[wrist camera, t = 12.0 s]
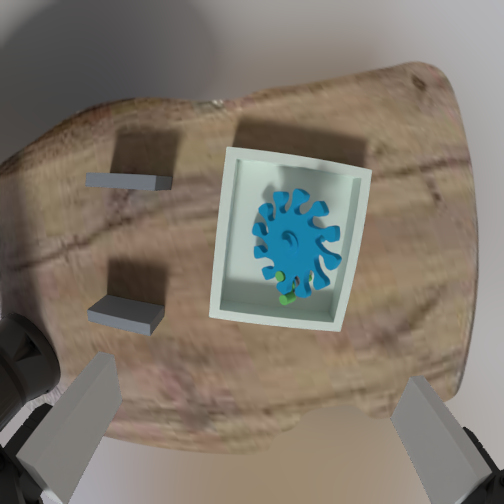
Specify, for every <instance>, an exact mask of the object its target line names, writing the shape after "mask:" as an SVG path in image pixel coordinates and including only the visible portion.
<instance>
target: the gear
mask: <svg viewBox="0 0 504 504" xmlns="http://www.w3.org/2000/svg"><path fill="white" fill-rule="evenodd" d="M309 198H310V194H309V193H308V192H307V191H305V190H303V189H294V191H293V194H292V203H291V206H290V208H289V209H288V211H287V212H286V210H285V205H286V203H287V202H288V200H289V192H286V191H277V192H274V193H273V199H274V202H275V205H276V215H275V219H274V218H273V212H274V207H273V204H272V203H264V204H262V205H261V206H260V207H259V208H258V211H259V213H260V215H262V216H263V218H264V219H265V221H266V223H267V227H268V233H267V230H266V226H265V224H264V223H262V222H258V223H255V224H254V226H253V228H252V234H253V235H255V236H258V237H260V238H262V239H263V240H264V241H265V243H266V244H267V246H268V250H267V249H266V247H265V246H264V245H259V246H254V257H255V258H256V259H259V258H264V257H267V258H269V259H271V260H272V261H273V262H274V267H273V266H267V267H263V268H262V273H263V276H264V278H265V280H269V279H272V278H274V277H275V278H276V280H277V281H279V282H278V283H277V285H276V288H277V289H278V291H279V292H280V293H282V294H283V295H281V296H280V297H279V301H280V303H281V304H282V305H287V304H289V303H291V302H294V301H295V300H296V296H298V297H300V298H307V297H309V296H311V293H312V291H311V288H310V284H309V282H310V281H311V280H312V276H311V275H309V274H310V270H312V271H313V273H314V279H313V286H314V288H315V290H320V289H322V288H324V287H326V286H328V285H330V279H329V278H328V276H326V275H325V273H324V272H323V270H322V268H321V266H320V261H319V255H321V256H322V257H323V260H324V264H325V267H326V268H327V269H328V270H330V271H331V270H334V269H336V268H337V267H338V266H339V264H340V263H341V260H342V258H341V256H340V255H339V254H337V253H333V252H330V251H329V250H327V249H326V248H325V247H324V246H323V244H322V242H325V240H327V241H328V242H336V241H339V240H340V227H339V226H337V225H334V226H328V227H327V228H320V227H317V226H315V225H314V224H313V217H314V216H317V217H322V216H327V215H328V214H329V209H328V206H327V205H326V203H325V201H316V202H314V203H313V205H312V207H311V208H310V210H309V211H308V212H306V213H305V214H301V213H300V209H299V208H300V205H301V204H303V203H306V202H307V201H308V200H309ZM294 292H295V294H294Z"/></svg>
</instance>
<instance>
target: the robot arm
mask: <svg viewBox="0 0 504 504" xmlns="http://www.w3.org/2000/svg"><path fill="white" fill-rule="evenodd" d="M59 380H60V369H59V365H58V361H57V359H56V356H55V354H54V352H53V350H52V348H51V346H50V345H49V343H48V342H47V340H46V339H45V337H44V336H43V335H42V333H41V332H40V331H39V330H38V329H37V327H36V326H35V325H34V324H32V323H31V322H30V321H29V320H28V319H26V318H25V317H23V316H21V315H18V314H9V315H8V316H6V317H4V318H3V319H1V320H0V432H1V431H2V430H3V429H4V427H5V426H6V425H7V424H8V423H9V422H10V420H11V419H12V418H13V417H14V416H15V415H16V414H17V413H18V411H19V410H20V409H21V408H22V407H23V406H24V405H25V404H26V403H27V402H28V401H30V400H33V399H35V398H37V397H39V396H41V395H43V394H47V393H49V392H50V391H52V390H53V389H54V387H55V386H56V385H57V384H58V383H59ZM121 403H122V396H121V391H120V386H119V381H118V376H117V370H116V364H115V358H114V355H112V354H108V353H104V352H100V351H99V352H98V353H97V354H96V355H95V357H94V358H93V359H92V360H91V361H90V362H89V364H88V365H87V366H86V367H85V368H84V369H83V371H82V372H81V373H80V374H79V375H78V377H77V378H76V379H75V380H74V381H73V383H72V384H71V385H70V386H69V388H68V389H67V390H66V391H65V392H64V394H63V395H62V396H61V397H60V399H59V400H58V401H57V402H56V404H55V405H54V406H52V405H49V404H47V403H44V404H43V405H41V406H39V407H37V408H35V410H34V411H33V412H32V413H31V414H30V416H29V418H28V419H26V420H25V422H24V423H23V425H21V427H20V428H19V429H18V430H17V431H16V433H15V434H14V435H13V436H12V438H11V439H10V440H9V442H8V443H7V444H6V446H5V447H4V448H2V446H1V444H0V504H43V501H42V498H41V497H40V495H41V493H42V491H43V492H44V493H45V494H46V495H47V496H48V497H49V498H50V499H52V500H54V501H56V502H58V503H59V504H68V502H69V500H70V499H71V496H72V495H73V493H74V491H75V489H76V487H77V485H78V483H79V481H80V479H81V477H82V475H83V473H84V471H85V469H86V467H87V465H88V463H89V461H90V459H91V458H92V456H93V454H94V452H95V450H96V448H97V446H98V444H99V443H100V441H101V439H102V437H103V435H104V433H105V432H106V430H107V428H108V426H109V424H110V422H111V421H112V419H113V417H114V415H115V413H116V412H117V410H118V408H119V406H120V405H121ZM390 419H391V421H392V423H393V425H394V427H395V429H396V431H397V433H398V435H399V437H400V439H401V441H402V443H403V445H404V447H405V449H406V451H407V453H408V455H409V457H410V459H411V461H412V463H413V465H414V467H415V469H416V471H417V474H418V476H419V478H420V480H421V482H422V484H423V486H424V489H425V491H426V493H427V495H428V497H429V499H430V502H431V504H504V469H503V470H501V471H500V470H499V469H498V468H497V466H496V465H495V463H494V462H493V460H492V459H491V458H490V456H489V454H488V453H487V451H486V450H485V449H484V448H483V446H482V444H481V443H480V442H478V441H479V440H478V439H477V437H476V436H475V435H474V434H473V432H471V431H470V430H469V429H467V428H466V427H463V428H462V427H461V426H460V424H459V423H458V422H457V420H456V419H455V417H454V416H453V415H452V413H451V412H450V411H449V409H448V408H447V407H446V405H445V404H444V403H443V401H442V400H441V399H440V397H439V396H438V395H437V393H436V392H435V391H434V389H433V388H432V387H431V385H430V384H429V383H428V382H427V380H426V379H425V378H424V376H423V375H422V376H413V377H410V378H409V381H408V383H407V385H406V387H405V390H404V392H403V394H402V396H401V398H400V400H399V402H398V404H397V406H396V408H395V410H394V412H393V414H392V416H391V418H390Z"/></svg>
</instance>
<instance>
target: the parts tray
mask: <svg viewBox="0 0 504 504" xmlns="http://www.w3.org/2000/svg"><path fill="white" fill-rule="evenodd" d="M371 174H372V170H369V169H365V168H360V167H356V166H351V165H346V164H341V163H336V162H331V161H326V160H320V159H315V158H309V157H303V156H297V155H290V154H284V153H277V152H269V151H262V150H254V149H245V148H235V147H227V150H226V157H225V165H224V173H223V181H222V189H221V198H220V207H219V215H218V225H217V234H216V244H215V254H214V264H213V275H212V287H211V298H210V311H209V317H212V318H219V319H225V320H233V321H240V322H248V323H256V324H264V325H273V326H282V327H292V328H302V329H314V330H326V331H340V330H341V326H342V323H343V319H344V315H345V311H346V307H347V303H348V299H349V295H350V291H351V287H352V282H353V278H354V273H355V269H356V264H357V259H358V254H359V249H360V244H361V239H362V233H363V228H364V222H365V216H366V210H367V203H368V196H369V189H370V182H371ZM294 189H303V190H305V191H307V192H308V193H309V194H310V198H309V200H308V201H307V202H306V203H303V204H301V205H300V208H299V209H300V213H301V214H305V213H306V212H308V211H309V210H310V208H311V207H312V205H313V203H314V202H316V201H325V203H326V205H327V206H328V209H329V214H328V215H327V216H322V217H317V216H314V217H313V224H314V225H315V226H317V227H320V228H327V227H328V226H334V225H337V226H339V227H340V240H339V241H336V242H328V241H327V240H325V242H322V244H323V246H324V247H325V248H326V249H327V250H329V251H330V252H333V253H337V254H339V255H340V256H341V258H342V260H341V263H340V264H339V266H338V267H337V268H336V269H334V270H331V271H330V270H328V269H327V268H326V267H325V264H324V260H323V257H322V256H321V255H319V261H320V266H321V268H322V270H323V272H324V273H325V275H326V276H328V278H329V279H330V285H328V286H326V287H324V288H322V289H320V290H315V288H314V286H313V279H314V273H313V271H312V270H310V274H309V275H311V276H312V280H311V281H310V282H309V284H310V288H311V291H312V293H311V296H309V297H307V298H300V297H298V296H296V300H295V301H294V302H291V303H289V304H287V305H282V304H281V303H280V301H279V297H280V296H281V295H283V294H282V293H280V292H279V291H278V289H277V288H276V285H277V283H278V282H279V281H277V280H276V278H275V277H274V278H272V279H269V280H265V278H264V276H263V273H262V268H263V267H267V266H273V267H274V262H273V261H272V260H271V259H269V258H267V257H264V258H259V259H256V258H255V257H254V246H259V245H264V246H265V247H266V249H267V250H268V246H267V244H266V243H265V241H264V240H263V239H262V238H260V237H258V236H255V235H253V234H252V228H253V226H254V224H255V223H258V222H262V223H264V224H265V226H266V230H267V233H268V227H267V223H266V221H265V219H264V218H263V216H262V215H260V213H259V211H258V208H259V207H260V206H261V205H262V204H264V203H272V204H273V207H274V212H273V218H274V219H275V215H276V205H275V202H274V199H273V193H274V192H277V191H286V192H289V200H288V202H287V203H286V205H285V210H286V212H287V211H288V209H289V208H290V206H291V203H292V194H293V191H294ZM294 294H295V292H294Z"/></svg>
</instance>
